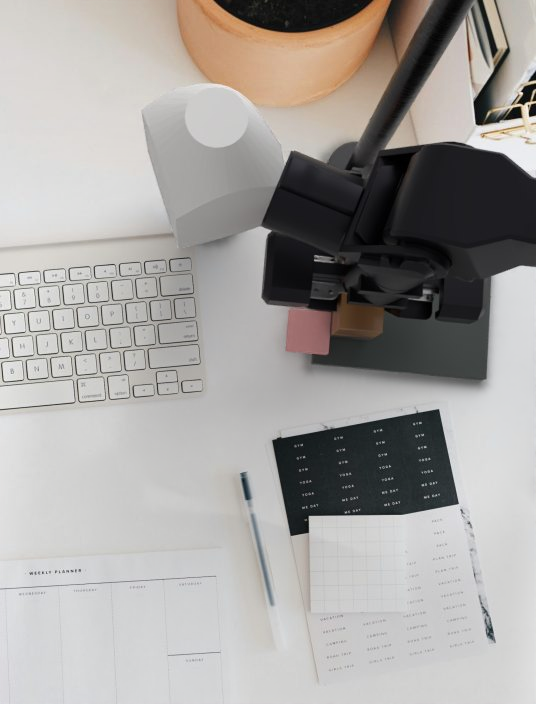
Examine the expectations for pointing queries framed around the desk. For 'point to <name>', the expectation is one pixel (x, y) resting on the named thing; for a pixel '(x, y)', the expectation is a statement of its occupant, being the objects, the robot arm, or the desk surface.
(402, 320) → the slate
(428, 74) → the desk lamp
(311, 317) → the crumb
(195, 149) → the light fixture
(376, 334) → the brown block
